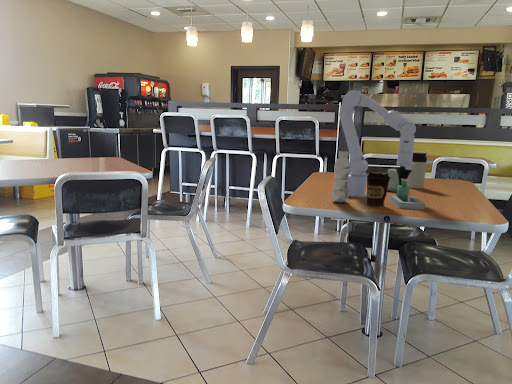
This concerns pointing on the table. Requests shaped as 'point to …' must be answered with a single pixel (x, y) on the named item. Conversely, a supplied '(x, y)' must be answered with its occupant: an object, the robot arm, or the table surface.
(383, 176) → the coffee cup
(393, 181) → the air freshener
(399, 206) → the cradle
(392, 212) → the table surface
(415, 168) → the travel mug
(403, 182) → the bottle
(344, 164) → the plastic bottle
